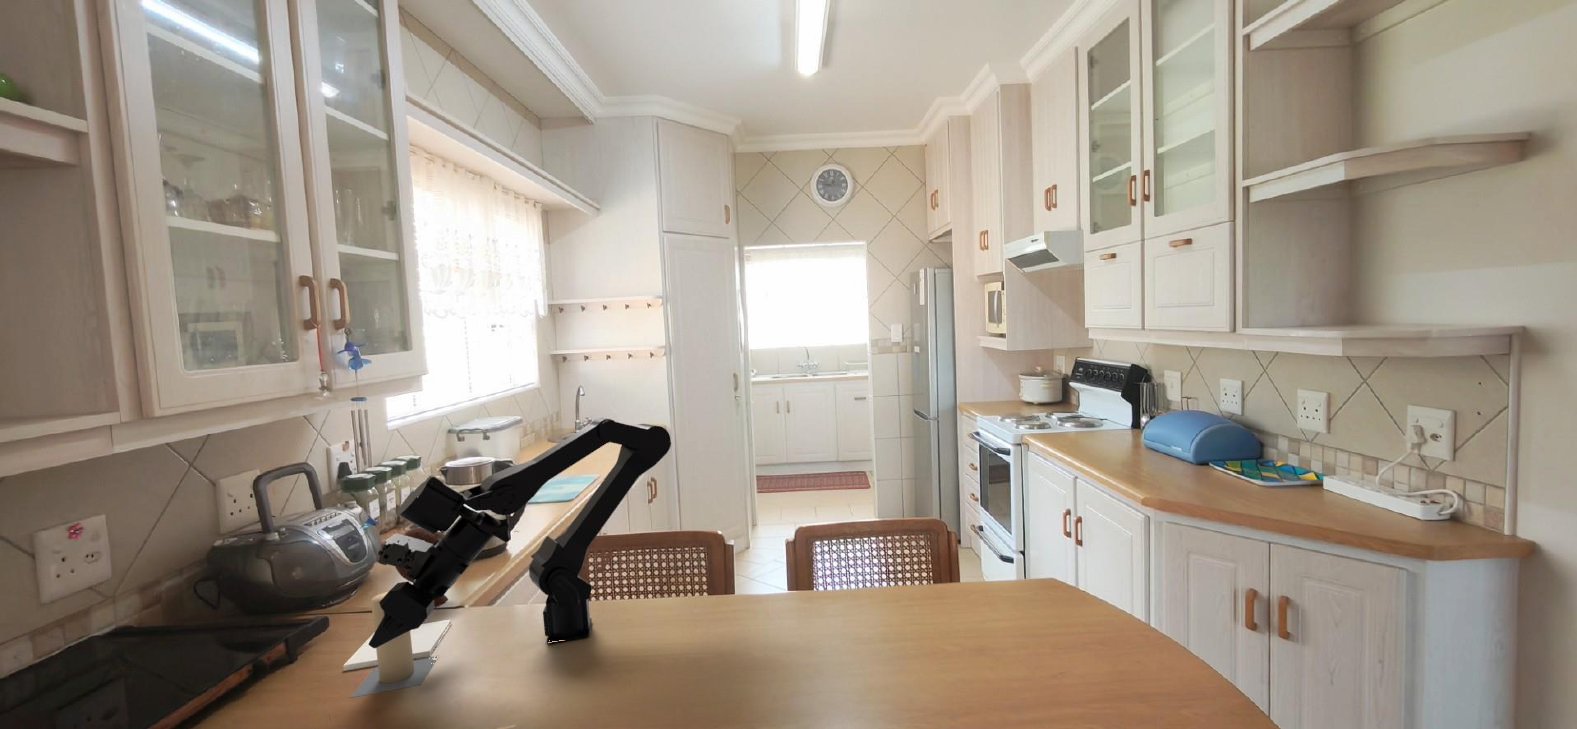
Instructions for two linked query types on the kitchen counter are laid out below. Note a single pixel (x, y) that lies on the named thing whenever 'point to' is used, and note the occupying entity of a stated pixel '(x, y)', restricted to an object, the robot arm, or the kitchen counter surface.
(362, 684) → the mat
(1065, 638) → the kitchen counter surface
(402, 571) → the ice cream bowl
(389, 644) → the tan tapered rounded piece
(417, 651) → the cutting board
